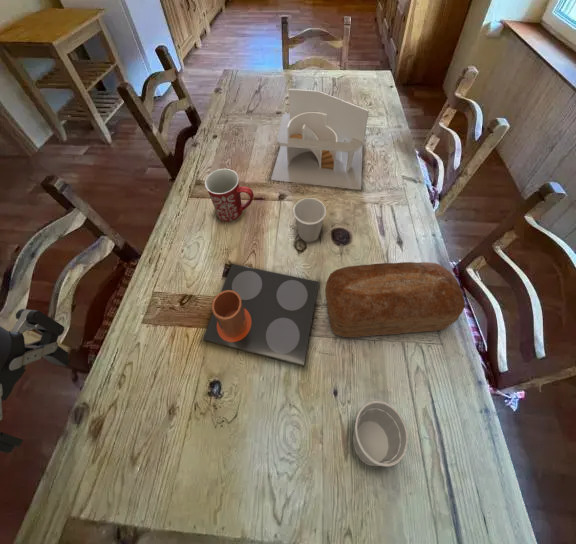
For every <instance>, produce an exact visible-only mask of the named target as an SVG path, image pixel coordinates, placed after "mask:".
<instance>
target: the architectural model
mask: <svg viewBox="0 0 576 544" xmlns="http://www.w3.org/2000/svg"><path fill="white" fill-rule="evenodd" d="M288 107H289V108H288V110H289V112H288V113H287V112H285V113H283V114H282V115H281V119H280V123H279V127H278V132H277V137H276V144H277V145H278V146H280V147H279V150H278V154H277V157H276V160H275V164H274V167H273V171H272V173H271V178H270V180H271V181H277V182H285V183H295V184H305V185H312V186H313V185H314V186H322V187H331V188H340V189H351V190H360V191H362V174H363V149H364V148H363V147H364V146H363V145H364V144H365V143H366V142H367V138H368V136H367V135H366V131H367V125H368V120H369V119H368V118H369V113H370V110H369V109H367V108H365V107H363V106H359V105H357V104H354V103H351V102H349V101H346V100H344V99H342V98H339V97H336V96H333V95H331V94H328V93H326V92H322V91H320V90H314V89H313V90H312V89H298V88H288Z"/></svg>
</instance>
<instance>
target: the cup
mask: <svg viewBox="0 0 576 544" xmlns="http://www.w3.org/2000/svg"><path fill="white" fill-rule="evenodd" d="M408 433H409V432H408V428H407V425H406V422H405V420H404V419H403V417H402V414H401V413H400V412H399V411H398V410H397V409H396V408H395V407H394V406H392V405H391V404H389V403H388V402H385V401H382V400H371V401H369V402H366V403H365V404H364V405H363V406H362V407H361V408H360V409H359V411H358V413H357V414H356V418H355V424H354V431H353V434H352V445H353V449H354V452H355V454H356V455H357V457H358V459H359V460H360V461H361V462H363V463H364V464H365V465H366V466H370V467H377V466H378V467H392V466H395V465H397V464H398V463H399V462H401V461H402V460H403V458H404V457H405V455H406V453H407V450H408V446H409V434H408Z"/></svg>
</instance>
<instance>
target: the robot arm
mask: <svg viewBox="0 0 576 544" xmlns="http://www.w3.org/2000/svg"><path fill="white" fill-rule="evenodd" d="M15 319H16V320H17V321H16V322H15V324H14V325H13V327H12V328H11V329H10V330H9V331H8V330H7V329H6V328H4V327H3V326H2V325H1V326H0V422H1V421H2V420H3V418H4V414H3V401H7V399H8V398H9V396H10V395H11V393H12V391H13V389H14V387H15V385H16V383H17V382H19V380H20V379H21V378H22V377H23V375H24V374H25V372H26V371H27V369H26V366H27V365H29V364H31V363H34V362H36V361H39V360H41V359H45V360H46V361H48V362H50V363H51V364H53V365H55V366H58V367H65V368H67V367H68V366H69V364H70V362H71V360H70V359H69V357H70V354H69V352H68V351H66V350H65V349H63V347H61V346H60V345H59V343H58V338H59V337H60V336H62V335H63V334H64V332H65V325H62V324H61V323H60V322H58V321H56V320H55V319H53V318H51V317H49V315H47V314H45V313H43V312H42V311H41V310H36V309H28V308H21V309H19V310H18V311H17V312H16V314H15ZM34 330H35V331H36V332H39V333H41V334H42V335H41V337H40V339H39V340H35V341H32V342H30V343H26V342H25V335H24V333H25V332H27V331H29V332H32V331H34ZM23 442H24V439H22V438H20V437H17V436H14V435H11V434H8V433H5V432H3V431H2V432H1V431H0V453H5V454H9V453H12V452H13V450H14V449H15V448H21V445H22V444H23Z"/></svg>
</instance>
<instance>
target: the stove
mask: <svg viewBox="0 0 576 544" xmlns="http://www.w3.org/2000/svg"><path fill="white" fill-rule="evenodd" d="M319 283H320V282H319V281H317V280H311V279H306V278H301V277H297V276H292V275H289V274H283V273H278V272H272V271H268V270H264V269H259V268H254V267H249V266H244V265H239V264H235V263H231V265H230V267H229V270H228V273H227V275H226V277H225V280H224V283H223V286H222V288H221V291H220V293H221V292H222V291H226V290H232V291H235V292H236V293H238V294H239V296H240V298H241V300H242V304H243V307H244V311H245V314H246V317H247V326H246V328H245V330H244V332H243V333H242V334H240V335H239V336H237V337H228V336H226V335H224V334H223V332H222V330H221V328H220V326H219V324H218V322H217V319H216V317H215V315H214V313H213V312H212V313H211V314H212V315H211V317H210V319H209V322H208V325H207V327H206V330H205V332H204V335H203V337H202V340H203V342H204V343H208V344H213V345H217V346H221V347H225V348H227V349H232V350H235V351H240V352H243V353H248V354H251V355H256V356H259V357H264V358H267V359H270V360H275V361H279V362H283V363H287V364H290V365H293V366H298V367H303V368H304V367H305V363H306V357H307V351H308V346H309V340H310V335H311V329H312V323H313V317H314V313H315V305H316V303H317V301H316V300H317V296H318V290H319V286H320V285H319Z"/></svg>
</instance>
